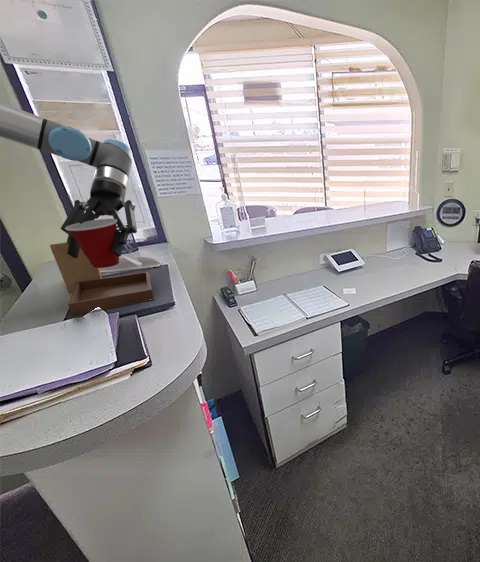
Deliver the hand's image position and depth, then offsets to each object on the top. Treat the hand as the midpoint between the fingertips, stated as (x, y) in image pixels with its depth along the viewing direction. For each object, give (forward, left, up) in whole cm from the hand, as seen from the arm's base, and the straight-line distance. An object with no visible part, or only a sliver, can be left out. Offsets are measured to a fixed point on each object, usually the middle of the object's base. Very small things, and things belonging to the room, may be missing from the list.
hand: (94, 254), depth 82 cm
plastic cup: (-1, +3, -4) cm, 5 cm away
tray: (-1, +4, -14) cm, 15 cm away
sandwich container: (-18, +15, -14) cm, 27 cm away
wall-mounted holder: (-13, +28, -14) cm, 34 cm away
